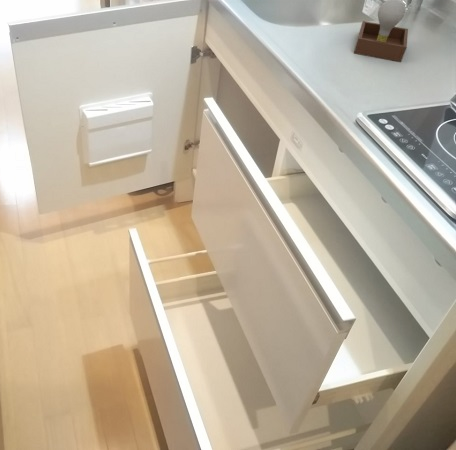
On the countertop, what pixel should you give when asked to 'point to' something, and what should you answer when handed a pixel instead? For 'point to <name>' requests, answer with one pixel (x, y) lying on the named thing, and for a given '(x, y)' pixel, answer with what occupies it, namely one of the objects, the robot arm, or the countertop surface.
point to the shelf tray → (378, 49)
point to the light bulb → (389, 17)
